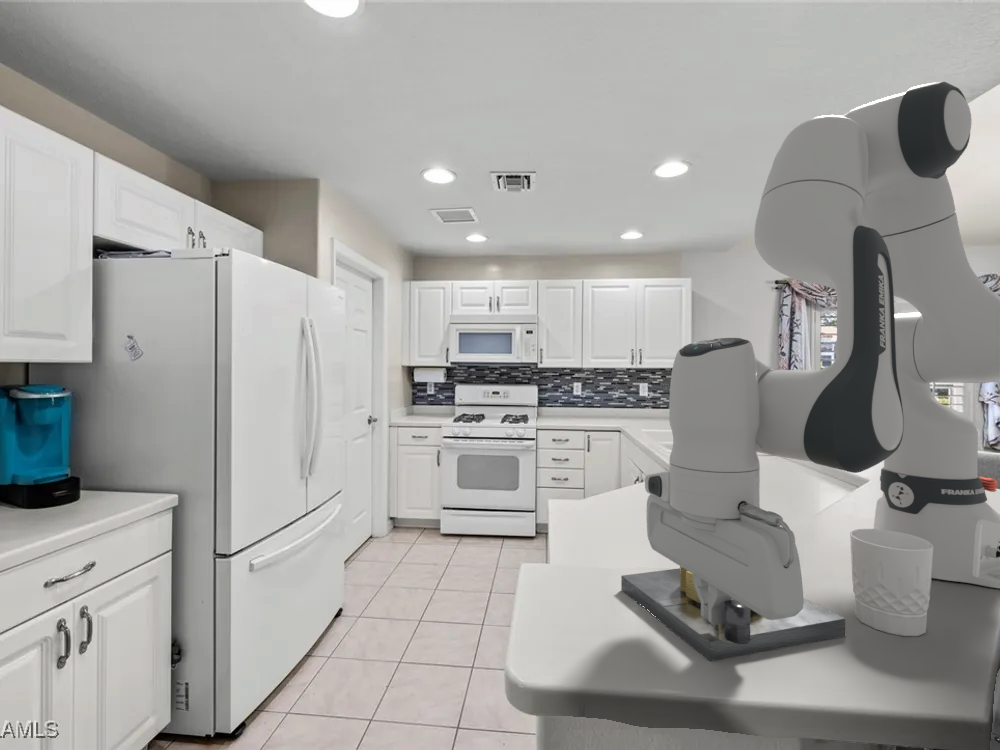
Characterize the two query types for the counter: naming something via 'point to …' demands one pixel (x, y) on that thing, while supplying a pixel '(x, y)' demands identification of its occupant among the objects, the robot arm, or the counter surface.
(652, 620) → the counter surface
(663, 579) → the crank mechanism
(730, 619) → the geared lever handle
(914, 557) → the white cup
